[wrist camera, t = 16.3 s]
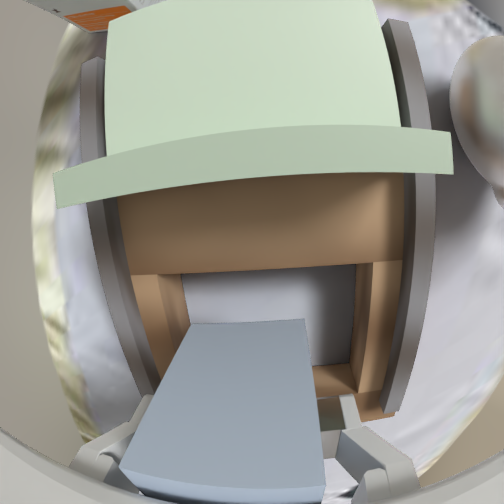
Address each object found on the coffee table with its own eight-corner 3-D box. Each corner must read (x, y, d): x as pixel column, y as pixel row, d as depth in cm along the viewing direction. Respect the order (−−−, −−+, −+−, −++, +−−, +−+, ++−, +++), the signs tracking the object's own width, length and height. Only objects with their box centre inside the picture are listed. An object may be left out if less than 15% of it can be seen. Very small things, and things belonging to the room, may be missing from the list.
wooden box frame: (383, 388, 17) (398, 428, 13) (171, 394, 19) (153, 432, 15) (387, 54, 11) (417, 24, 7) (115, 84, 13) (74, 67, 9)
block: (304, 398, 12) (312, 532, 5) (211, 399, 12) (176, 524, 6) (304, 318, 10) (325, 485, 4) (191, 323, 11) (118, 466, 4)
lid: (396, 171, 10) (453, 174, 6) (120, 194, 11) (56, 208, 7) (362, -6, 8) (387, -57, 4) (116, 27, 9) (67, -6, 5)
